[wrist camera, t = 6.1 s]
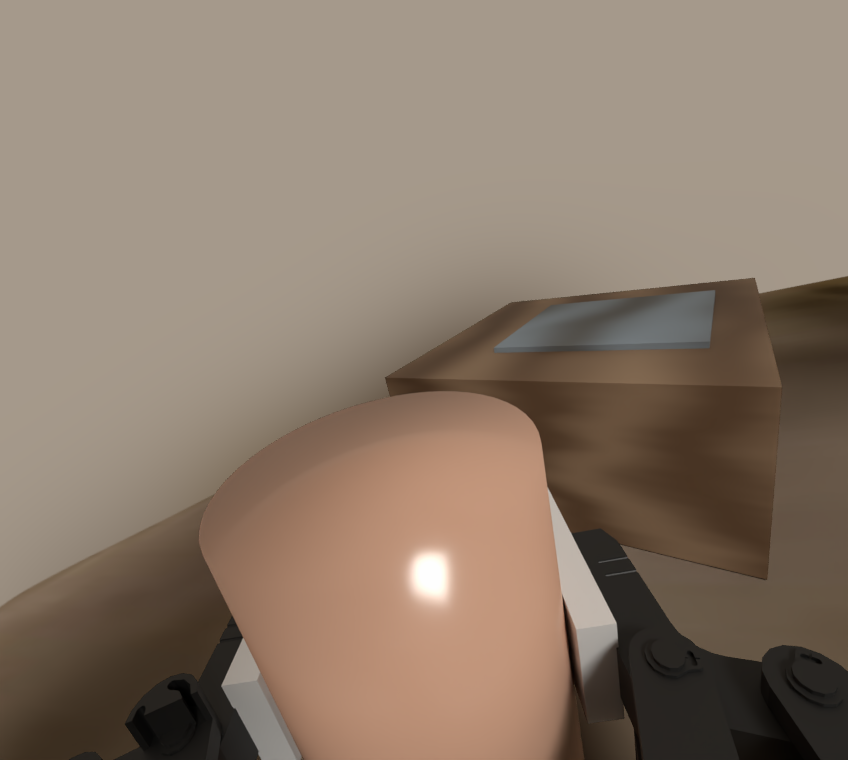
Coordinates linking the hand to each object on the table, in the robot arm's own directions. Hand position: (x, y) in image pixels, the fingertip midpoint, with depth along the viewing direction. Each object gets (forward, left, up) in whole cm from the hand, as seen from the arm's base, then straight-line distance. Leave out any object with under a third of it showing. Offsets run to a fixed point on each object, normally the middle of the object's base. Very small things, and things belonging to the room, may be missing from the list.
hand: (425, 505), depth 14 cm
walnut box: (-1, -16, -6) cm, 17 cm away
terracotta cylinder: (-3, +4, -6) cm, 8 cm away
